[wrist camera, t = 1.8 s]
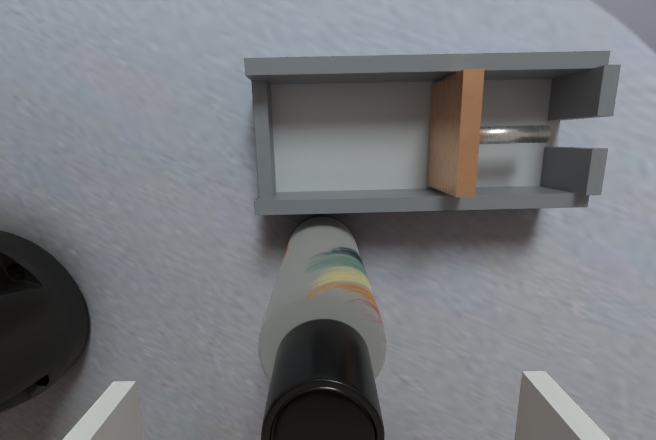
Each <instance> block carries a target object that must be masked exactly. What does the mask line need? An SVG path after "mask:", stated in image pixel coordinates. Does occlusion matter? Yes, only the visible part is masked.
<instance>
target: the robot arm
mask: <svg viewBox="0 0 656 440" xmlns="http://www.w3.org/2000/svg"><path fill="white" fill-rule="evenodd" d="M87 330H88V320H87V312H86V307H85V303H84V300H83V298H82V295H81V293H80V291H79V289H78V287H77V285H76V283H75V281H74V280H73V278H72V277H71V275H70V274H69V273H68V272H67V270H66V269H65V268H64V267H63V266H62V265H61V264H60V263H59V262H58V261H57V260H56V259H55V258H54V257H53V256H52V255H50V254H49V253H48V252H46V251H45V250H44V249H42V248H41V247H39V246H38V245H36V244H34V243H32V242H30V241H28V240H26V239H24V238H22V237H20V236H17V235H14V234H11V233H8V232H4V231H0V413H2V412H4V411H6V410H9V409H11V408H13V407H15V406H17V405H19V404H21V403H23V402H25V401H28V400H30V399H32V398H34V397H35V396H37V395H39V394H40V393H42V392H43V391H45V390H46V389H48V388H49V387H50V386H51V385H53V384H54V383H55V382H56V381H57V380H58V379H59V378H60V377H61V376H63V375H64V374H65V373H66V372H67V371H68V370H69V369H70V368H71V367H72V366H73V365H74V364H75V362H76V361H77V359H78V358H79V356H80V354H81V352H82V350H83V348H84V345H85V342H86V337H87ZM63 440H146V439H145V433H144V427H143V421H142V415H141V408H140V402H139V396H138V390H137V384H136V381H121V382H113V383H112V384H111V385H110V386H109V387H108V388H107V390H106V391H105V392H104V393H103V394H102V395H101V396H100V398H99V399H98V400H97V401H96V402H95V403H94V404H93V406H92V407H91V408H90V409H89V410H88V411H87V412H86V413H85V415H84V416H83V417H82V418H81V419H80V420H79V421H78V423H77V424H76V425H75V426H74V427H73V428H72V429H71V431H70V432H69V433H68V434H67V435H66V436H65V437H64V439H63ZM515 440H610V439H609V438H608V437H607V435H606V434H605V433H604V432H603V431H602V430H601V429H600V428H599V427H598V426H597V425H596V424H595V423H594V422H593V421H592V420H591V419H590V418H589V417H588V416H587V415H586V414H585V412H584V411H583V410H582V409H581V408H580V407H579V406H578V405H577V404H576V403H575V402H574V401H573V400H572V399H571V398H570V397H569V396H568V395H567V394H566V393H565V392H564V391H563V389H562V388H561V387H560V386H559V385H558V384H557V383H556V382H555V381H554V380H553V379H552V378H551V377H550V376H549V375H548V374H547V373H546V372H545V371H522V379H521V388H520V397H519V405H518V414H517V423H516V432H515Z"/></svg>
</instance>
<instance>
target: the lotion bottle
mask: <svg viewBox="0 0 656 440" xmlns="http://www.w3.org/2000/svg"><path fill="white" fill-rule="evenodd" d="M385 356H386V337H385V332H384V328H383V324H382V321H381V318H380V314H379V311H378V308H377V305H376V302H375V299H374V296H373V293H372V290H371V287H370V284H369V281H368V278H367V275H366V272H365V269H364V266H363V263H362V260H361V257H360V254H359V251H358V248H357V245H356V242H355V240H354V237H353V235H352V233H351V232H350V230H349V229H348V228H347V227H346V226H345V225H344V224H343V223H341V222H340V221H338V220H336V219H333V218H330V217H314V218H311V219H308V220H306V221H305V222H303V223H302V224H300V225H299V226H298V227H297V228H296V229H295V231H294V232H293V234H292V236H291V238H290V240H289V243H288V246H287V249H286V252H285V255H284V258H283V261H282V265H281V268H280V271H279V274H278V277H277V280H276V283H275V286H274V289H273V292H272V295H271V299H270V302H269V305H268V308H267V311H266V314H265V317H264V321H263V324H262V327H261V332H260V336H259V358H260V362H261V365H262V368H263V370H264V372H265V374H266V376H267V377H268V379H269V380H270V381H271V383H270V388H269V393H268V398H267V403H266V409H265V414H264V419H263V425H262V432H261V440H384V426H383V420H382V415H381V410H380V405H379V400H378V395H377V389H376V384H375V379H376V378H377V376H378V375H379V373H380V371H381V369H382V367H383V364H384V361H385Z"/></svg>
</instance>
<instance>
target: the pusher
mask: <svg viewBox="0 0 656 440" xmlns="http://www.w3.org/2000/svg"><path fill="white" fill-rule="evenodd" d="M484 70H485V69H463V70H461V71H459V72H457V73H455V74H453V75H451V76H449V77H447V78H445V79H443V80H441V81H439V82H437V83H435V84H433V85H432V89H431V113H430V138H429V162H428V186H431V187H433V188H435V189H438V190H440V191H442V192H445V193H447V194H449V195H452V196H454V197H475V195H476V181H477V167H478V153H479V144H518V143H546V142H548V140H549V139H550V136H551V128H550V126H549V125H522V126H481V112H482V98H483V84H484Z"/></svg>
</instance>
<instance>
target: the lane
mask: <svg viewBox="0 0 656 440" xmlns="http://www.w3.org/2000/svg"><path fill="white" fill-rule="evenodd" d="M609 56H610V51H584V52H533V53H483V54H432V55H381V56H331V57H280V58H244V63H245V75H246V76H247V77H248V78H249V79H250V80H251V81H252V95H253V110H254V125H255V141H256V156H257V171H258V186H259V197H258V198H257V199H256V200H255V201H254V207H255V215H290V214H330V213H370V212H410V211H449V210H489V209H529V208H569V207H588V201H589V195H601V191H602V185H603V178H604V172H605V165H606V159H607V152H608V148H574V147H557V143H558V135H559V127H560V120H570V119H583V118H595V117H607V116H613V112H614V106H615V99H616V93H617V86H618V80H619V73H620V66H621V65H608V63H609ZM463 69H485V70H484V84H483V98H482V112H481V126H522V125H549V126H550V128H551V136H550V139H549V140H548V142H546V143H518V144H479V153H478V167H477V181H476V195H475V197H454V196H452V195H449V194H447V193H445V192H442V191H440V190H438V189H435V188H433V187H431V186H428V162H429V138H430V113H431V89H432V85H433V84H435V83H437V82H439V81H441V80H443V79H445V78H447V77H449V76H451V75H453V74H455V73H457V72H459V71H461V70H463Z"/></svg>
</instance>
